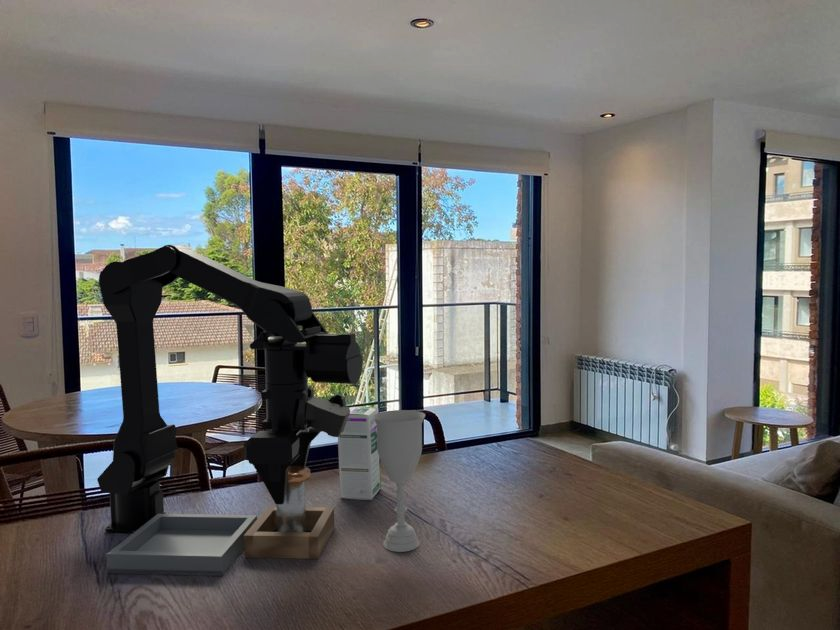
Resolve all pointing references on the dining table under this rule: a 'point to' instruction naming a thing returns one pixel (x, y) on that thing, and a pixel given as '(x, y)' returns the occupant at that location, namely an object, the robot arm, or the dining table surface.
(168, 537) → the tray
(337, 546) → the dining table surface
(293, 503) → the glass jar
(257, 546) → the square wooden frame
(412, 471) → the chalice
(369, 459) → the syrup box
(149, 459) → the robot arm
